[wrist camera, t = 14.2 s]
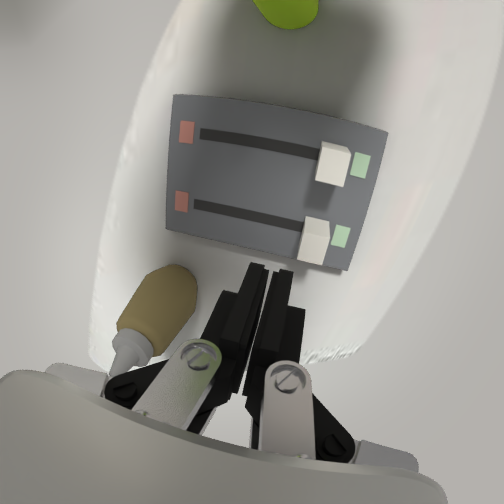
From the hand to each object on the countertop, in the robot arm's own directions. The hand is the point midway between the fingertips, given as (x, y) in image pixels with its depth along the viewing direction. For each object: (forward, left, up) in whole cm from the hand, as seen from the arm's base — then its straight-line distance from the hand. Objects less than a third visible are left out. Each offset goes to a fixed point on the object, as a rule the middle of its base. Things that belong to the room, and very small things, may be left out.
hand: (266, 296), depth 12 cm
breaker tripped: (+6, +3, -20) cm, 21 cm away
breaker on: (-2, +3, -20) cm, 20 cm away
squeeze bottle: (+19, -13, -23) cm, 32 cm away
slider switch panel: (+2, -3, -22) cm, 23 cm away
